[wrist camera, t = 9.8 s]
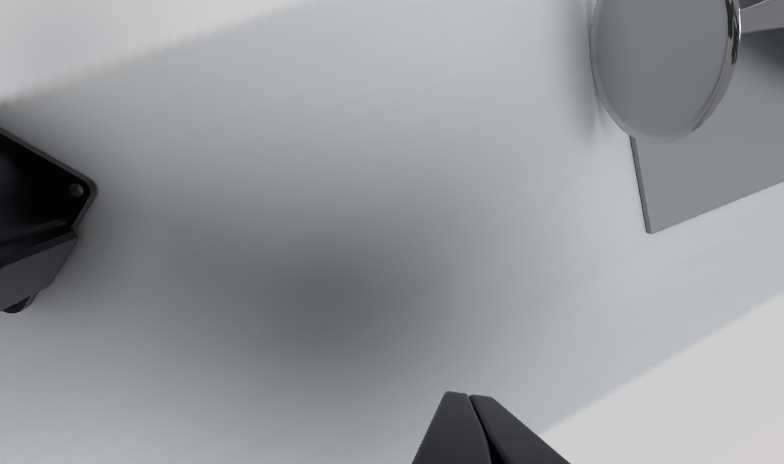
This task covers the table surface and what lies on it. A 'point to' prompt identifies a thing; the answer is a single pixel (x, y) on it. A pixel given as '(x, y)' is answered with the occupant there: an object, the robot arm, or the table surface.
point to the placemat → (721, 142)
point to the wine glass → (670, 60)
